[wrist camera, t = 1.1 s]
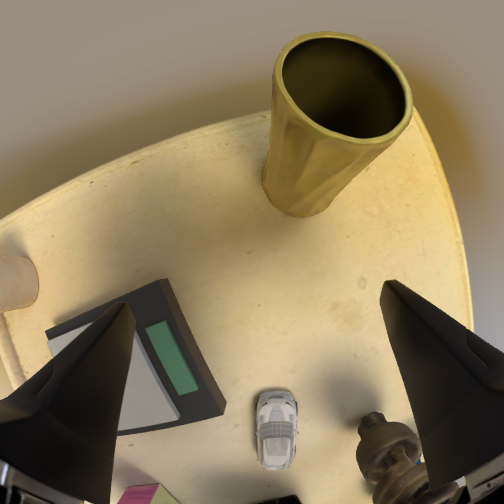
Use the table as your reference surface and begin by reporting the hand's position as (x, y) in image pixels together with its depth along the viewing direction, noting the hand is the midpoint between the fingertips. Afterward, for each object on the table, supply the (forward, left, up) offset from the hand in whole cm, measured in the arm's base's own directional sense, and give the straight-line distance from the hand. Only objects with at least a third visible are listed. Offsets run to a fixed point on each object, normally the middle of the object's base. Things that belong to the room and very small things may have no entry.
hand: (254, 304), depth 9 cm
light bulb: (-17, -4, -13) cm, 22 cm away
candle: (+9, +24, -13) cm, 29 cm away
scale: (-3, +14, -13) cm, 19 cm away
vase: (+6, -6, -13) cm, 16 cm away
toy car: (-13, +4, -13) cm, 19 cm away
